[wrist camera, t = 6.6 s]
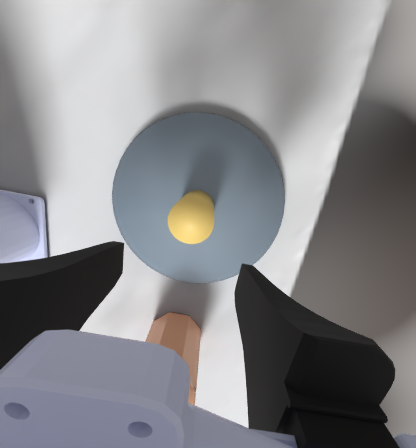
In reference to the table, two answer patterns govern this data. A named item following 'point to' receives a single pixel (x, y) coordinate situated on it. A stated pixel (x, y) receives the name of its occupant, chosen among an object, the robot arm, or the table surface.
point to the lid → (205, 181)
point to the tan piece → (179, 342)
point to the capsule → (192, 217)
